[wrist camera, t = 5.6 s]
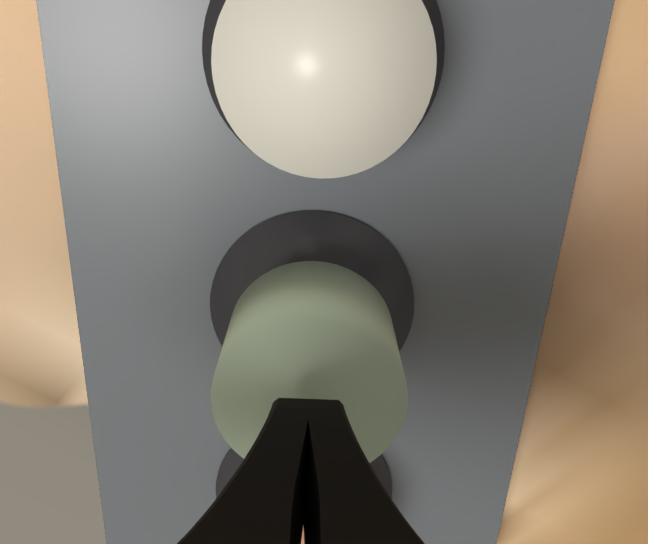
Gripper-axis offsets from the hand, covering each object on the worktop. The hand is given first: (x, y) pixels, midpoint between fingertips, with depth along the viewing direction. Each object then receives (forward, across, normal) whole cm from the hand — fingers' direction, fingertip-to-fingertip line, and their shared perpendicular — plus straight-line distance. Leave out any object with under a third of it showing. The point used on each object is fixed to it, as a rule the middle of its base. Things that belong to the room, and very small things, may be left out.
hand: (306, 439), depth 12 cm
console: (+8, 0, 0) cm, 8 cm away
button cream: (+5, 0, -7) cm, 9 cm away
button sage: (+4, 0, 0) cm, 4 cm away
